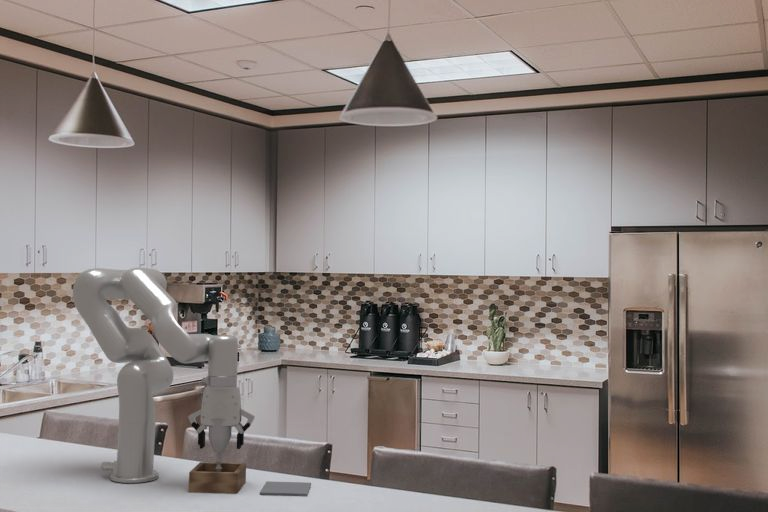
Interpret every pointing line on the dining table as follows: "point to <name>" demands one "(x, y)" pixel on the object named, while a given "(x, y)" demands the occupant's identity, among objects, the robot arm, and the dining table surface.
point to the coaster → (285, 488)
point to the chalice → (219, 439)
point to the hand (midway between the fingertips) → (220, 447)
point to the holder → (217, 478)
